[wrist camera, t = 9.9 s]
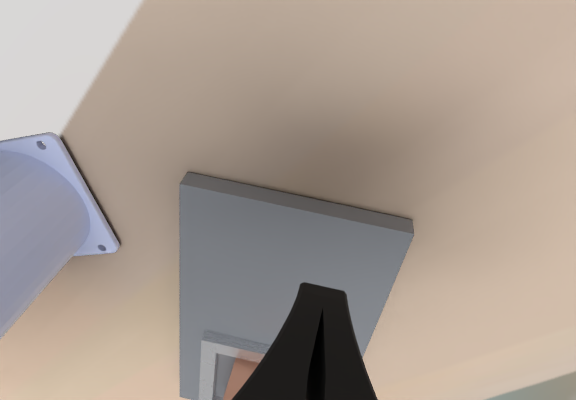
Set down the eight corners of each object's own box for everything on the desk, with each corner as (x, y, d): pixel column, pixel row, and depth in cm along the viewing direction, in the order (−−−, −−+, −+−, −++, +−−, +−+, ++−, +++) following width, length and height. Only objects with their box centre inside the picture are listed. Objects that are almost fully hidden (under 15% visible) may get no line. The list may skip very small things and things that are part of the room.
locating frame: (309, 424, 32) (308, 435, 31) (201, 399, 32) (198, 409, 32) (332, 359, 27) (331, 370, 27) (205, 330, 28) (201, 340, 27)
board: (332, 417, 33) (331, 432, 32) (185, 382, 34) (179, 396, 33) (412, 219, 22) (414, 234, 21) (187, 172, 22) (179, 183, 21)
